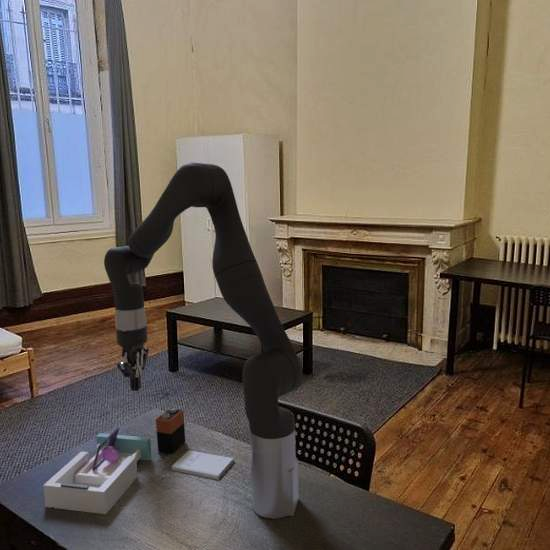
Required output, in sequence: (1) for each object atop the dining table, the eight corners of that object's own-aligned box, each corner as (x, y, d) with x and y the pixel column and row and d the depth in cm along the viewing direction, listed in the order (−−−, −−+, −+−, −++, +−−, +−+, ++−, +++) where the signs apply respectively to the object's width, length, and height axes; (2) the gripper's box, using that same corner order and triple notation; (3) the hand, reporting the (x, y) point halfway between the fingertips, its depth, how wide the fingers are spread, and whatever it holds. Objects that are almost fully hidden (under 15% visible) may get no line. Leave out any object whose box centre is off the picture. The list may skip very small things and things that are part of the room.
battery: (186, 442, 135) (184, 406, 133) (172, 455, 129) (169, 417, 127) (171, 439, 137) (169, 404, 135) (157, 452, 131) (154, 415, 129)
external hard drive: (218, 482, 118) (171, 472, 123) (234, 463, 126) (189, 455, 130) (218, 475, 118) (171, 465, 122) (234, 457, 125) (189, 448, 130)
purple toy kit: (115, 426, 127) (95, 444, 118) (134, 434, 126) (116, 453, 117) (108, 449, 128) (89, 469, 119) (127, 457, 127) (109, 477, 119)
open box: (137, 476, 120) (135, 455, 119) (105, 514, 107) (103, 490, 106) (83, 470, 123) (81, 449, 122) (45, 506, 110) (42, 483, 109)
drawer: (151, 457, 128) (150, 437, 127) (123, 490, 114) (121, 469, 113) (101, 452, 130) (99, 433, 129) (67, 484, 117) (65, 463, 116)
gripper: (129, 317, 138) (134, 379, 141) (103, 331, 125) (109, 399, 128) (156, 318, 136) (160, 380, 139) (132, 333, 123) (137, 401, 127)
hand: (136, 389), depth 134 cm, fingers closed
